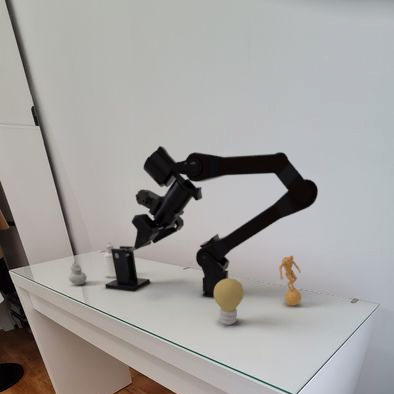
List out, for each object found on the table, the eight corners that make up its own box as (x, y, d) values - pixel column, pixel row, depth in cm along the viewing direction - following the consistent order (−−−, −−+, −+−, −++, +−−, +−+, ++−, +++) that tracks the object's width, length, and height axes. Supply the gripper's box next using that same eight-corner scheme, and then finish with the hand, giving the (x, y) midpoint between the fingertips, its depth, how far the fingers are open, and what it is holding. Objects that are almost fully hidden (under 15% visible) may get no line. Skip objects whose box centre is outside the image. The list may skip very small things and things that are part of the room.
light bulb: (224, 314, 69) (224, 273, 64) (247, 321, 65) (249, 277, 60) (208, 324, 64) (207, 280, 59) (232, 331, 61) (233, 285, 56)
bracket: (150, 282, 94) (145, 245, 88) (134, 291, 87) (128, 251, 81) (122, 280, 98) (116, 244, 92) (105, 288, 91) (97, 249, 85)
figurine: (289, 311, 69) (296, 260, 63) (269, 305, 73) (273, 257, 66) (307, 302, 73) (315, 254, 67) (287, 297, 77) (292, 251, 71)
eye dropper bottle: (114, 279, 99) (107, 243, 93) (105, 276, 103) (98, 241, 97) (124, 276, 102) (118, 241, 96) (116, 274, 106) (109, 239, 99)
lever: (152, 245, 85) (149, 237, 84) (143, 248, 81) (139, 240, 80) (126, 257, 91) (123, 249, 90) (116, 260, 87) (112, 253, 86)
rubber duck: (75, 287, 93) (69, 262, 89) (67, 284, 97) (60, 260, 93) (91, 283, 96) (85, 259, 92) (82, 280, 100) (76, 257, 96)
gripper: (170, 176, 80) (143, 219, 89) (131, 176, 65) (104, 228, 75) (197, 207, 81) (167, 246, 90) (165, 214, 66) (133, 260, 76)
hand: (144, 245), depth 83 cm, fingers open, 9 cm apart
